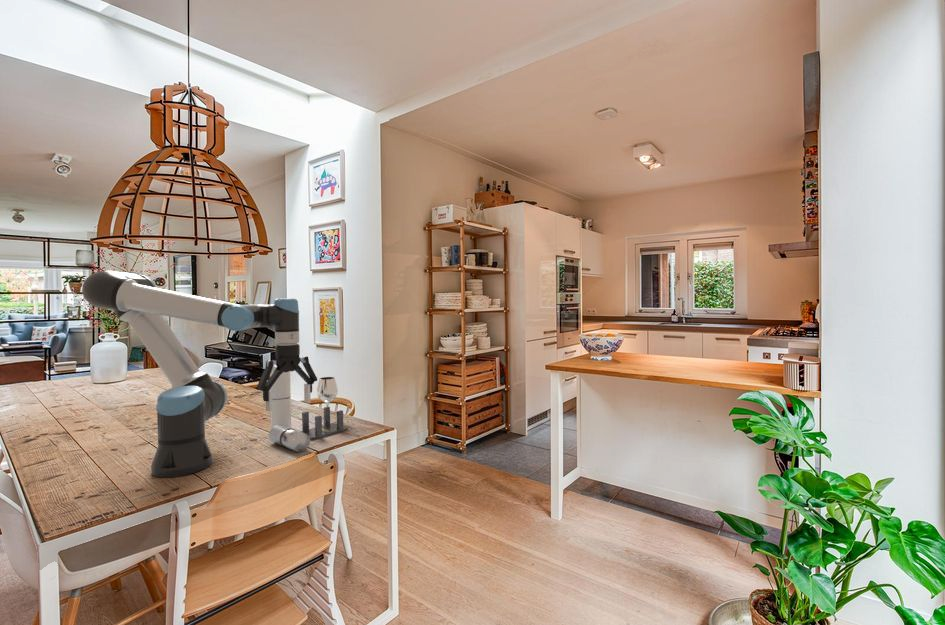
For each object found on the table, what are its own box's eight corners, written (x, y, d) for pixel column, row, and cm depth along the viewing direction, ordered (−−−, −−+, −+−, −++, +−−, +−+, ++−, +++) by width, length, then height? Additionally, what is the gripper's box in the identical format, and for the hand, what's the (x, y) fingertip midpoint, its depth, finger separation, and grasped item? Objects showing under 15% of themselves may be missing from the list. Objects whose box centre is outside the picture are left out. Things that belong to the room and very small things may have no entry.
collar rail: (312, 440, 153) (311, 418, 153) (297, 434, 160) (296, 413, 159) (347, 430, 165) (347, 409, 165) (332, 425, 171) (332, 405, 171)
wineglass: (321, 426, 170) (320, 380, 170) (314, 421, 177) (313, 378, 176) (341, 422, 176) (340, 378, 175) (333, 418, 182) (332, 375, 181)
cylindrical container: (277, 433, 161) (275, 367, 160) (267, 430, 165) (266, 365, 165) (294, 429, 167) (293, 364, 166) (284, 425, 171) (283, 363, 170)
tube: (310, 449, 144) (310, 431, 144) (292, 454, 139) (292, 435, 139) (286, 439, 154) (285, 422, 154) (268, 444, 149) (268, 426, 149)
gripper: (255, 348, 133) (256, 416, 134) (326, 341, 153) (327, 400, 154) (244, 346, 138) (245, 412, 139) (314, 340, 158) (316, 398, 158)
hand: (289, 406), depth 146 cm, fingers open, 13 cm apart
